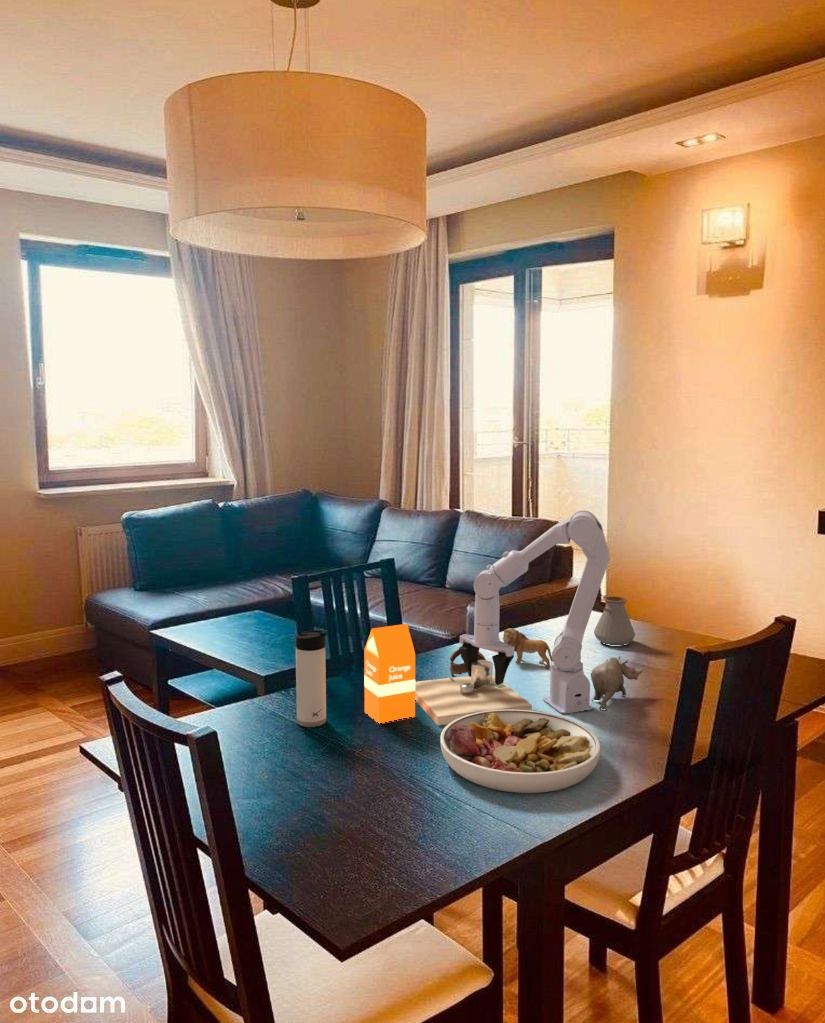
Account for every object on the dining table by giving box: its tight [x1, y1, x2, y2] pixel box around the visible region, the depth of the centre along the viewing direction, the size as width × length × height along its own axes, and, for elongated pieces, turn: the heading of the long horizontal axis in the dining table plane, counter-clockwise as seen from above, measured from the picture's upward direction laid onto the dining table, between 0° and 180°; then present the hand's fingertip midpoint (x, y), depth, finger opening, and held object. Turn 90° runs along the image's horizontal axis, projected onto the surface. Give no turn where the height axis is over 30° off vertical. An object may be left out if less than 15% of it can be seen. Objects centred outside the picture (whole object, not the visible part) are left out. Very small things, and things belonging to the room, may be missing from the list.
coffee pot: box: [593, 596, 636, 645], centre depth 227 cm, size 21×12×15 cm, turn 137°
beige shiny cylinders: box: [460, 659, 494, 694], centre depth 188 cm, size 11×5×5 cm, turn 138°
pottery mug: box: [449, 648, 487, 677], centre depth 205 cm, size 12×10×8 cm
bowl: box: [439, 709, 601, 794], centre depth 154 cm, size 30×30×8 cm
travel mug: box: [295, 629, 328, 728], centre depth 172 cm, size 6×7×20 cm
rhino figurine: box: [590, 656, 645, 709], centre depth 187 cm, size 8×14×15 cm
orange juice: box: [363, 623, 416, 725], centre depth 177 cm, size 8×9×20 cm
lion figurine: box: [502, 628, 553, 669], centre depth 213 cm, size 15×5×9 cm, turn 70°
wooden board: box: [415, 674, 533, 726], centre depth 186 cm, size 22×22×2 cm
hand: (485, 679), depth 188 cm, fingers open, 7 cm apart
